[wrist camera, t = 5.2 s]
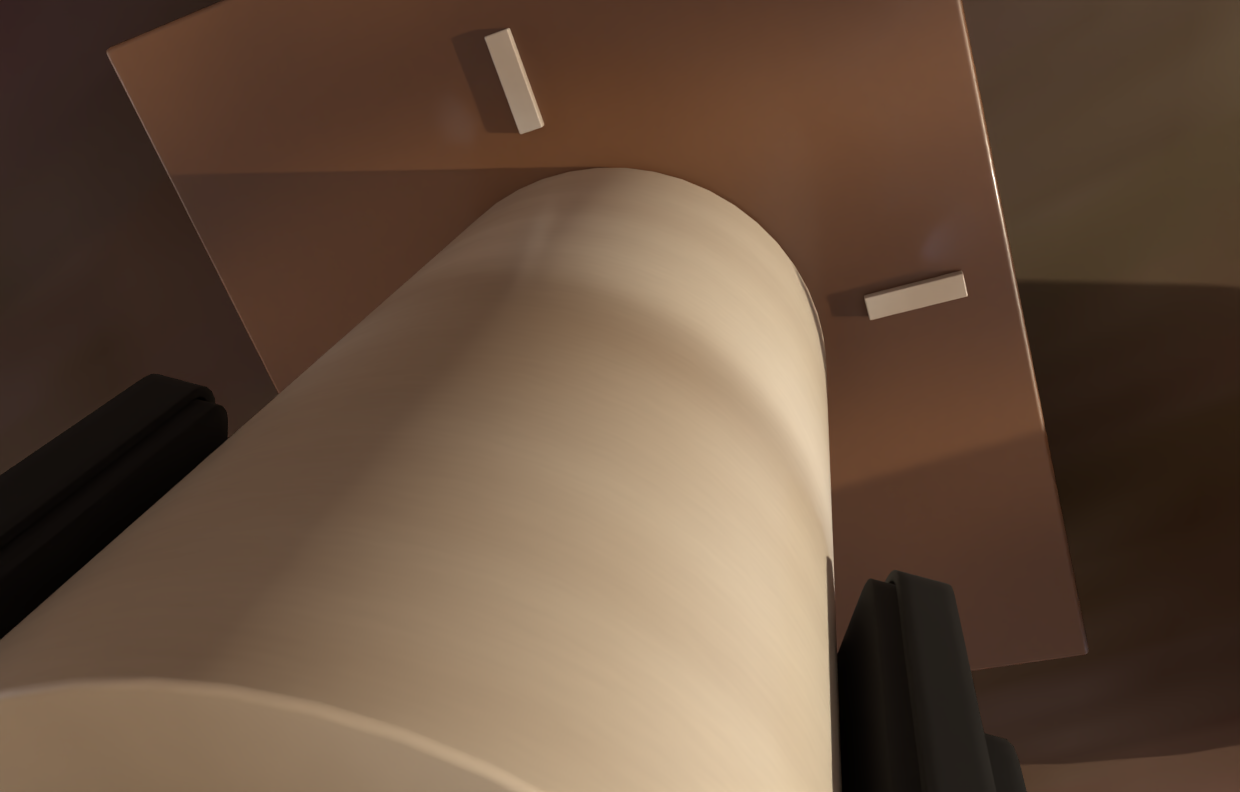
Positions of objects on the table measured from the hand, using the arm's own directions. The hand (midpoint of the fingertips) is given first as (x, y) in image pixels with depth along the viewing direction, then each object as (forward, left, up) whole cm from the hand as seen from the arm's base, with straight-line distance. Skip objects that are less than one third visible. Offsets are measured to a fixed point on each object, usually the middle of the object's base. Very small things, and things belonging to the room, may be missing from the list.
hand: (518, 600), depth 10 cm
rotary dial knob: (0, 0, -6) cm, 6 cm away
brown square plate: (0, 0, -9) cm, 9 cm away
